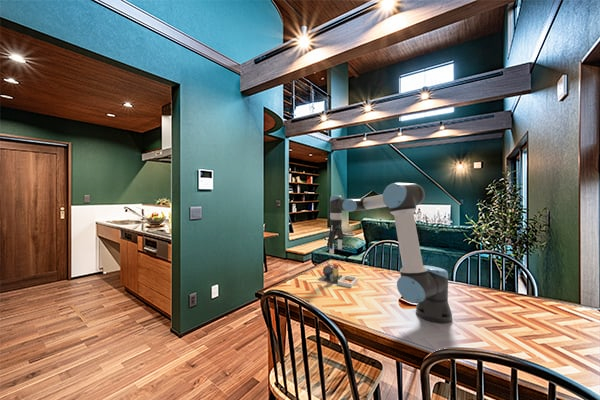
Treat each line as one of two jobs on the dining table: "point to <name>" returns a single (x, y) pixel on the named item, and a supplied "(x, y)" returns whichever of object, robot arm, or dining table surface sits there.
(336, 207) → the robot arm
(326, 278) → the pulley block
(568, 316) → the dining table surface
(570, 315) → the dining table surface
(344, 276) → the tray
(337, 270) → the lock pin
